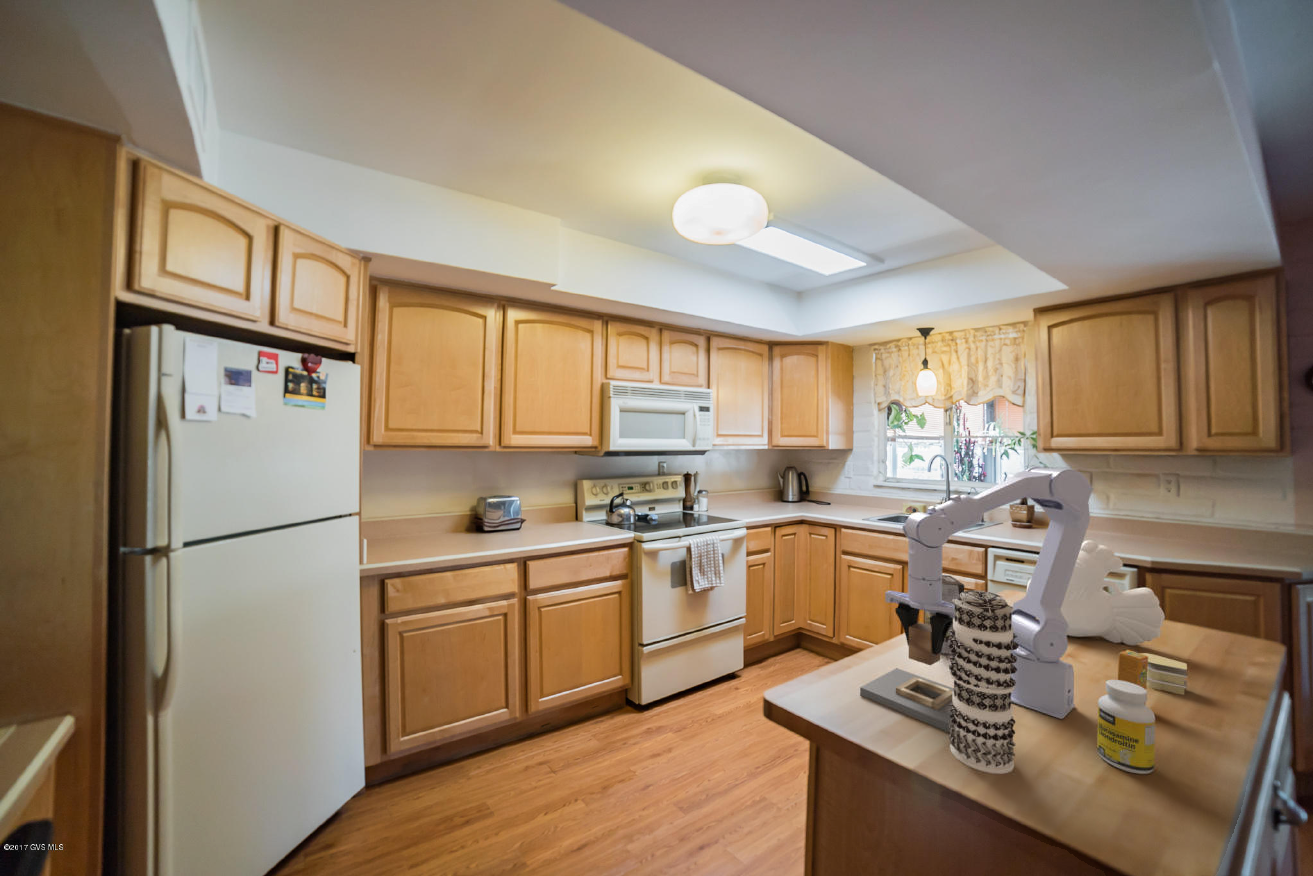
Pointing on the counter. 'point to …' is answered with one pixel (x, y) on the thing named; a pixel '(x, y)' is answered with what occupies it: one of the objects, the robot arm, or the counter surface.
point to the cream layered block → (1166, 674)
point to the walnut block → (921, 644)
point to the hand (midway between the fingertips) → (924, 648)
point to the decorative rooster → (1108, 601)
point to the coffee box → (949, 592)
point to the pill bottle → (1126, 728)
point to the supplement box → (1133, 668)
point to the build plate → (912, 697)
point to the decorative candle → (982, 682)
